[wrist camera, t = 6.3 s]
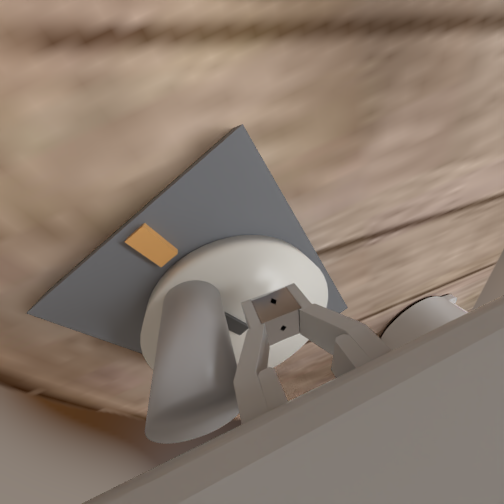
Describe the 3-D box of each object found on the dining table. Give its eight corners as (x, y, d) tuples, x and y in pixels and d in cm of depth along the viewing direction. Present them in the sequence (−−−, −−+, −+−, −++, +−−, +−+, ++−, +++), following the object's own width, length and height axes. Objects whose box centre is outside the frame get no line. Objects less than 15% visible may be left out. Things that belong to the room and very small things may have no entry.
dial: (336, 294, 20) (414, 368, 13) (237, 377, 21) (260, 480, 15) (249, 188, 11) (340, 246, 5) (99, 338, 13) (10, 533, 6)
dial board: (336, 296, 24) (351, 311, 22) (235, 371, 25) (240, 392, 23) (234, 127, 11) (245, 122, 9) (46, 291, 13) (18, 321, 11)
